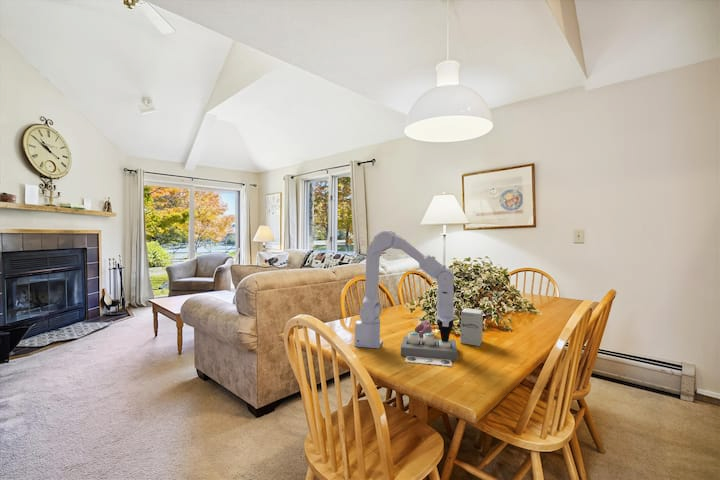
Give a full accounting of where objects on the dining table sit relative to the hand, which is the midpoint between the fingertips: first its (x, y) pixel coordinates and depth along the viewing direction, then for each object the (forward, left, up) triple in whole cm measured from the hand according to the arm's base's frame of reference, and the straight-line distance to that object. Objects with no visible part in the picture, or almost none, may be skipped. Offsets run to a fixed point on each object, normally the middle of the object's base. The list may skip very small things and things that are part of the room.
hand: (444, 341), depth 117 cm
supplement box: (+10, +15, -5) cm, 18 cm away
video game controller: (-8, +19, -5) cm, 21 cm away
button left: (-11, 0, -2) cm, 11 cm away
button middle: (-6, 0, -2) cm, 6 cm away
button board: (-6, 0, -4) cm, 7 cm away
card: (-6, -9, -4) cm, 11 cm away
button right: (0, 0, -4) cm, 4 cm away
